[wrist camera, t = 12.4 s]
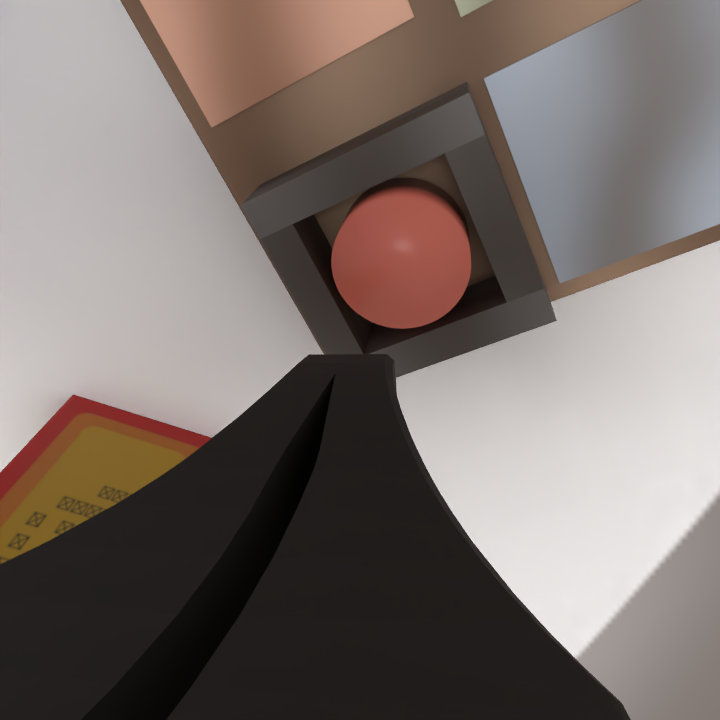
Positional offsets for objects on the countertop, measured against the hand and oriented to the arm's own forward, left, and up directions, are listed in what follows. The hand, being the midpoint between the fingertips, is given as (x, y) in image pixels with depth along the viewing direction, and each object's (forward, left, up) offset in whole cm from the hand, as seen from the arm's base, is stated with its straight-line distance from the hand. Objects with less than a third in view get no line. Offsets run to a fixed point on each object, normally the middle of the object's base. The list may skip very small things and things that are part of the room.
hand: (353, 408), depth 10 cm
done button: (0, -1, -9) cm, 9 cm away
